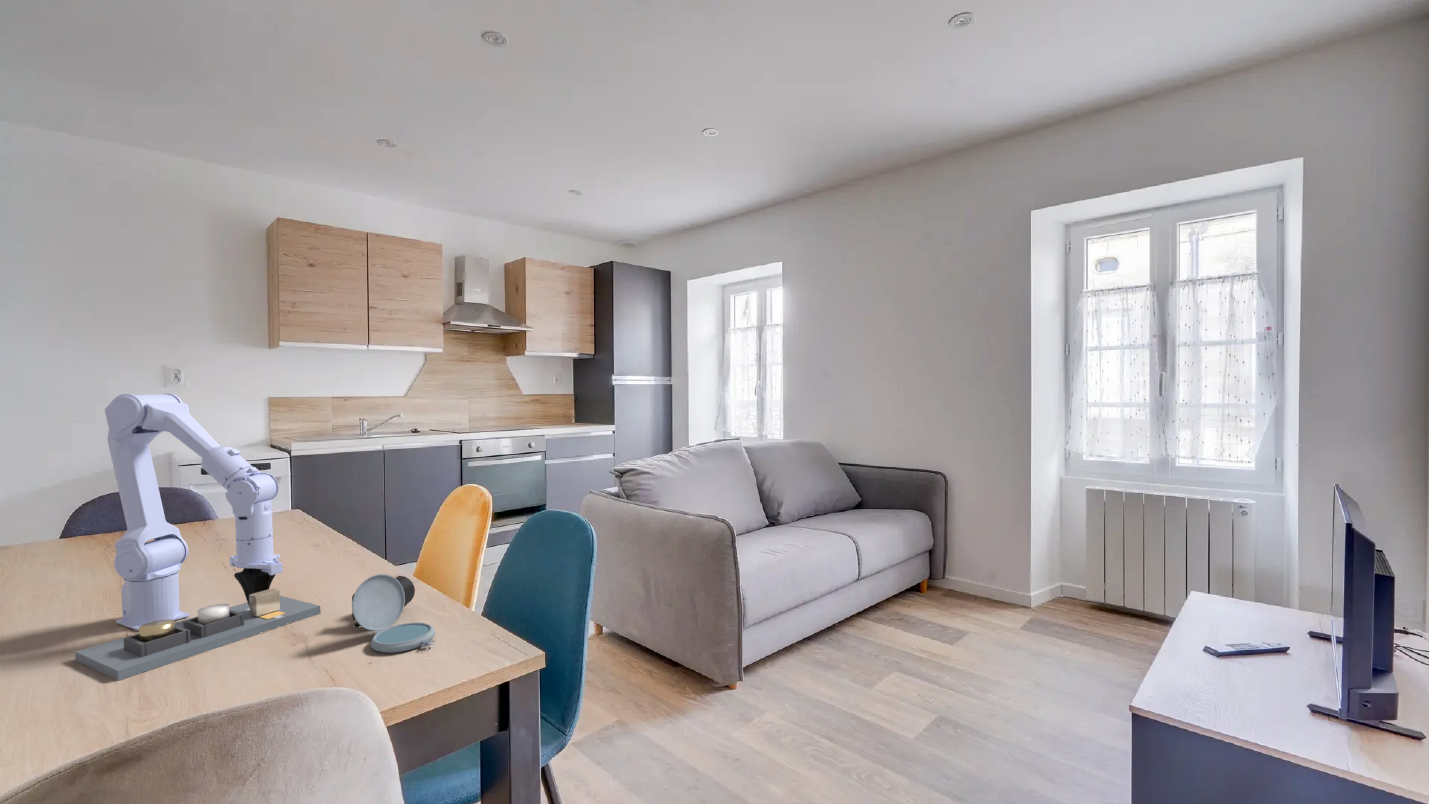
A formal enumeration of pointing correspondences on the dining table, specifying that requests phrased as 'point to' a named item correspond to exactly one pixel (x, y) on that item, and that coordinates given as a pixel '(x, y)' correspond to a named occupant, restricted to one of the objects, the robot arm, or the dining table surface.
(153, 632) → the brass button
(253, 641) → the dining table surface
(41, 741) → the dining table surface
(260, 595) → the frosted cream block
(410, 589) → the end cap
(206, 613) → the white button
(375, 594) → the pocket watch
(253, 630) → the panel
